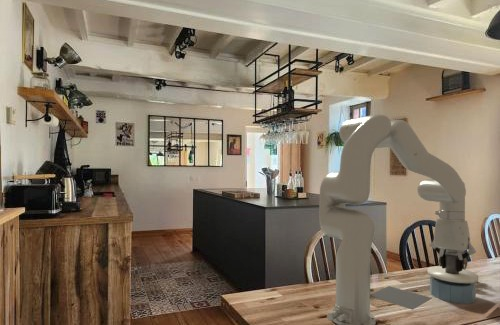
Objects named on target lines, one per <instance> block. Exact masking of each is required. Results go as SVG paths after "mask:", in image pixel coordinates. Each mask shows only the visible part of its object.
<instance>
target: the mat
mask: <svg viewBox="0 0 500 325" xmlns="http://www.w3.org/2000/svg"><path fill="white" fill-rule="evenodd" d="M371 297H372V298H375V299H378V300H381V301H385V302H387V303H391V304H393V305H397V306H400V307H403V308H406V309H409V310H414V309H416V308H418V307H419V306H422V305H423V304H425V303H427V302H429V301H430V300H432V299H433V298H432V297H431V296H426V295H423V294H420V293H419V294H418V293H416V292H412V291H408V290H405V289H402V288H398V287H394V286H390V285H388V286H386V287H383V288H382V289H379V290H376V291H375V292H371V293H370V298H371Z"/></svg>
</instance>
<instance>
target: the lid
mask: <svg viewBox="0 0 500 325" xmlns="http://www.w3.org/2000/svg"><path fill="white" fill-rule="evenodd" d="M457 260H458V255H456V254H450V253H447V254H445V268H444V269H443V268H442V266H435V265H434V266H430V267H427V269H426V270H427V275H429V277H431V276H432V277H434V278H437V279H440V280H444V281H449V282H456V283H475V284H476V283H478V282H479V275H478V274H476V273H475V272H472V271H470V270H467V269H465V270H464V269H462V271H460V272H458V271H457Z"/></svg>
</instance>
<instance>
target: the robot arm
mask: <svg viewBox="0 0 500 325" xmlns="http://www.w3.org/2000/svg"><path fill="white" fill-rule="evenodd" d="M338 132H339V138H340V140H341V142H343V143H344V145H343V147H342V150H341V155H340V160H339V161H340V163H339V171H332V172H329V173H328V174H327V175H325V177H324V178H323V179H322V180H321V183H320V186H319V201H318V202H319V206H318V208H319V209H318V210H319V211H318V220H319V227H320V230H321V231H322V232H323V233H324V234H325V235H326V236H327V237H330V238H334V239H338V240H340V241H341V242H340V245H339V247H338V249H337V251H336V256H335V304H334V308H333V309H332V310H331V311H330V312H329V313H327V314H326V318H327V320H328V321H332V322H333V323H335V324H336V325H376V323H377V318H376V317H375V315H374V314H373V313H371V296H370V294H371V258H372V257H371V252H372V243H373V240H374V235H375V222H374V220H373V218H372V217H371V215H369V214H368V213H367V212H365V211H362V210H359V209H354V208H348V207H346V204H347V205H355V206H357V205H363V204H365V203H366V202H367V201H368V200H369V198H370V193H371V165H372V163H371V162H372V156H373V153H374V151H375V150H376V149H381V148H389V149H390V150H391V151H392V152H393V154H394V156H395V157H396V158H397V159H398V160H399V162H400V163H401V165H402V166H403V167H404V168H405V169H406V170H408V171H411V172H413V173H415V174H418V175H422V176H425V177H427V178H426V179H423V180H422V181H421V182H420V183H419V184H418V186H417V194H418V196H419V197H420V198H421V199H423V200H425V201H429V202H435V203H439V209H438V210H436V211H435V213H434V214H435V215H436V216H438V218H436V222H435V226H434V235H433V240H432V242H431V243H430V244H429V246H430V247H431V248H432V249H434V250H435V252H436V253H437V254H438V256H439V257H440V256H441V265H442V268H443V269H444V268H445V254H446V251H447V249H449V250H455V251H457V253H458V260H457V271H458V272H460V271H462V269H464V259H465V258H466V259H467V258H468V257H469V256H472V255H473V254H476V253H477V251H476V249H475V248H474V246H473V245H472V244H471V236H470V229H469V228H470V227H469V223H468V220H466V195H467V190H466V189H467V188H466V184H465V182H464V181H463V179H462V178H461V177H460V174H458V172H457V171H456V169H454V167H453V166H451V165H450V164H448V163H447V162H445V161H444V160H442V159H440V158H439V157H437V156H435V155H434V154H432V153H430V152H429V151H428V150H427V148H426V147H425V146H424V144H423V143H422V140H420V138H419V137H418V135H417V134H416V132H415V131H414V129H413V128H412V126H411V125H410V124H409V123H408V122H407V121H405V120H403V119H393V120H392V119H391V120H390V118H389V117H388V116H387V115H384V114H371V115H365V116H361V117H356V118H352V119H347V120H345V121H344V122H343V123H342V124H341V125H340V127H339V131H338ZM465 251H466V252H465Z"/></svg>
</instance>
